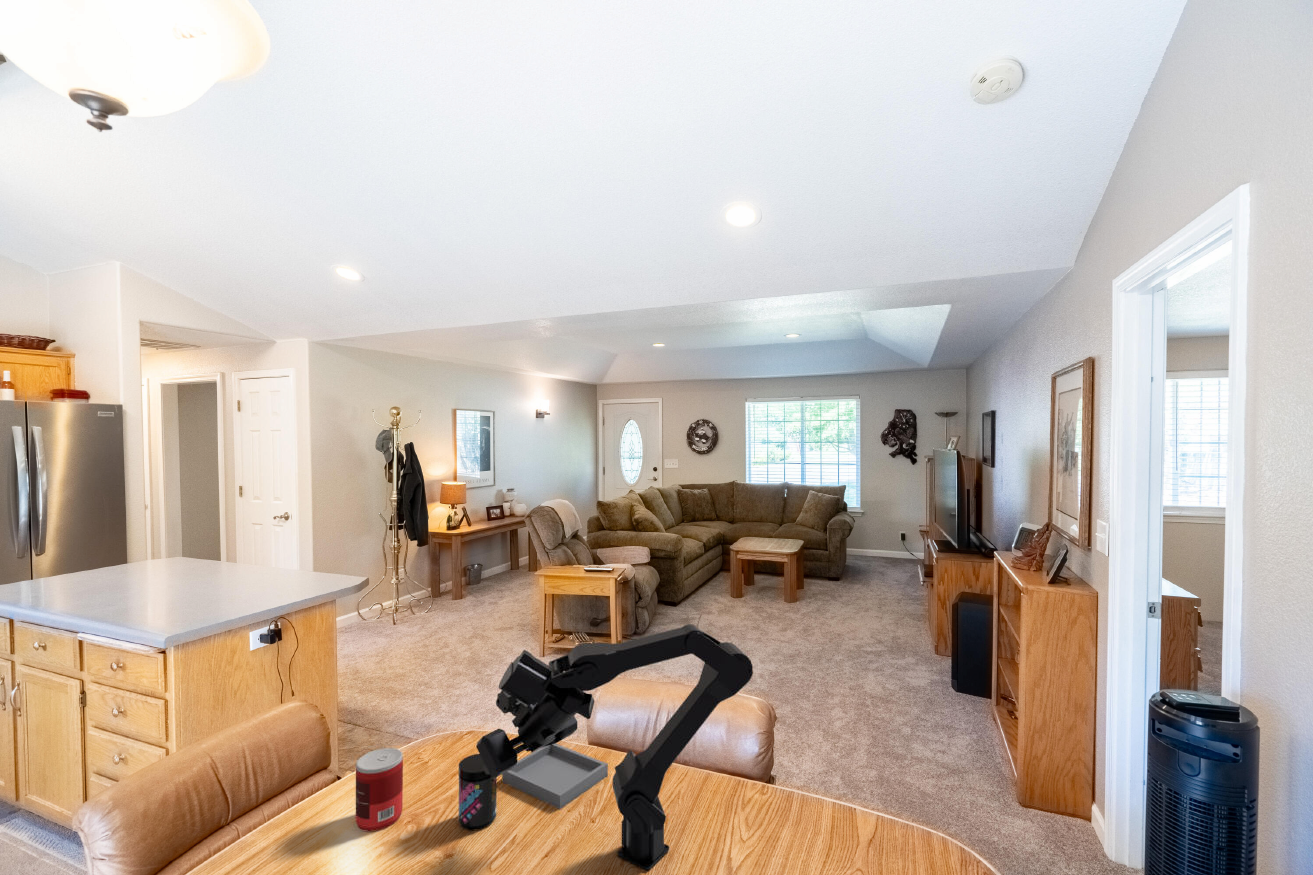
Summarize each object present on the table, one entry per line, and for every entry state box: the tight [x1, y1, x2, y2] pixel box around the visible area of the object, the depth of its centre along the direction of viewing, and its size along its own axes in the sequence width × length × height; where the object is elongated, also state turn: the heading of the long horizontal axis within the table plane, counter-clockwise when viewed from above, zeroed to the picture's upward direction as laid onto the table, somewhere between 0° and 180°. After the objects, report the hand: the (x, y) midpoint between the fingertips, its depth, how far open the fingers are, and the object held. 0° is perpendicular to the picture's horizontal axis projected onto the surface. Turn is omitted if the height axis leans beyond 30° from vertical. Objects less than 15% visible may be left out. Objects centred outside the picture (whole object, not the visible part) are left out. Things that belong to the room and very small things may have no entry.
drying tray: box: [501, 743, 609, 810], centre depth 125 cm, size 16×14×2 cm
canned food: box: [355, 747, 404, 832], centre depth 112 cm, size 8×8×11 cm
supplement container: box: [457, 753, 498, 831], centre depth 111 cm, size 7×7×10 cm
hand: (506, 759), depth 107 cm, fingers open, 9 cm apart
